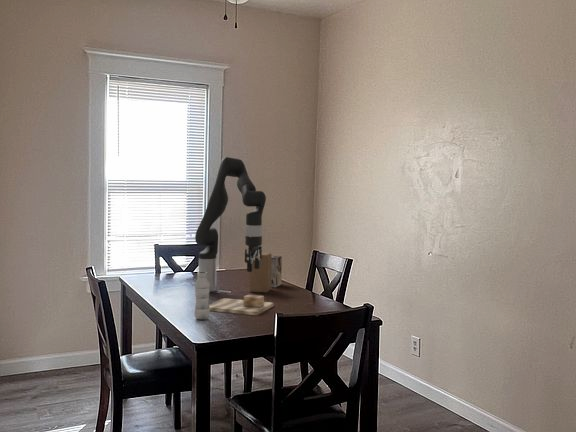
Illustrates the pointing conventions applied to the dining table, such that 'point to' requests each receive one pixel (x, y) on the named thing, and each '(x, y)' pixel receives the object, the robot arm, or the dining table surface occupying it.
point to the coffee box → (276, 271)
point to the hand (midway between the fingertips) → (253, 270)
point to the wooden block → (261, 275)
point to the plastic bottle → (202, 297)
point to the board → (237, 307)
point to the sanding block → (253, 301)
